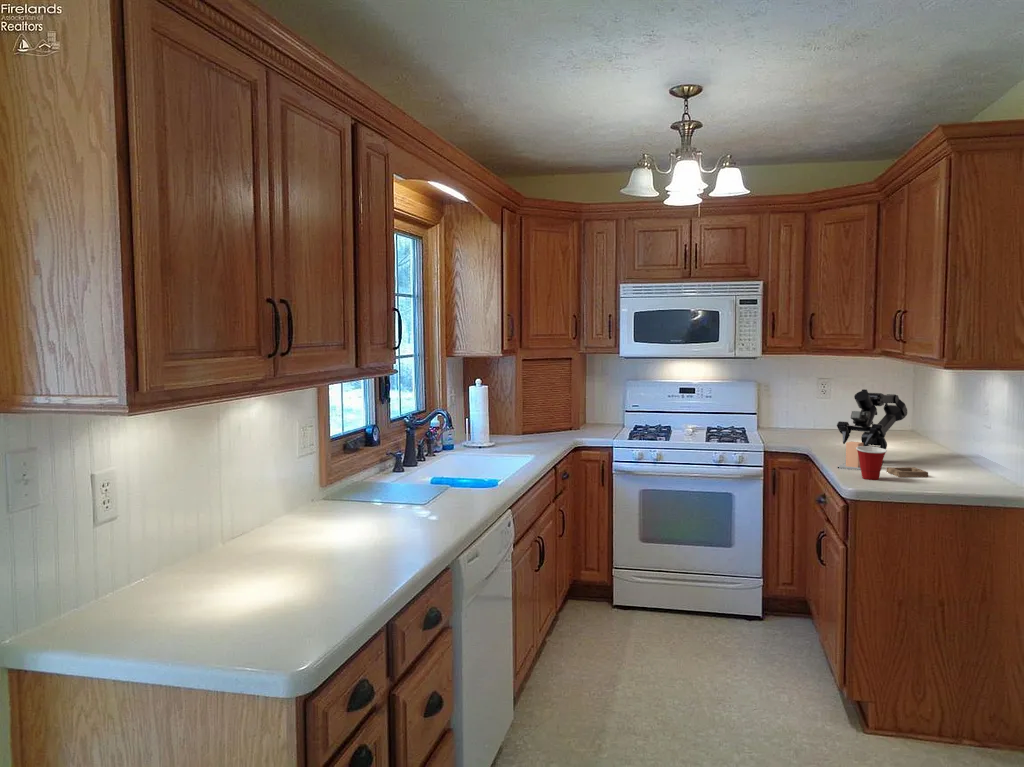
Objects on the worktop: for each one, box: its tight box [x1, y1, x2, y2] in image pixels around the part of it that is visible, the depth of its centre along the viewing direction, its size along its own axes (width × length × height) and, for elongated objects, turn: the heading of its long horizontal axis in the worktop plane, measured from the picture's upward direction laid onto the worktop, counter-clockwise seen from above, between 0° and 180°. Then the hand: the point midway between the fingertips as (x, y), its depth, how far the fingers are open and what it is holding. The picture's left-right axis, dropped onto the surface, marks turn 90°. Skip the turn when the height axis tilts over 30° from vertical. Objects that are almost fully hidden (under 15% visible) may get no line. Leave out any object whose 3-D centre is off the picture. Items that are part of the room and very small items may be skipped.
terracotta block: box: [845, 441, 863, 468], centre depth 312 cm, size 5×5×10 cm
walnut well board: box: [885, 466, 929, 478], centre depth 295 cm, size 11×11×2 cm
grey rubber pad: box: [836, 462, 861, 471], centre depth 312 cm, size 11×11×1 cm
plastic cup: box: [856, 446, 888, 481], centre depth 288 cm, size 11×11×12 cm
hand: (854, 444), depth 312 cm, fingers open, 9 cm apart
